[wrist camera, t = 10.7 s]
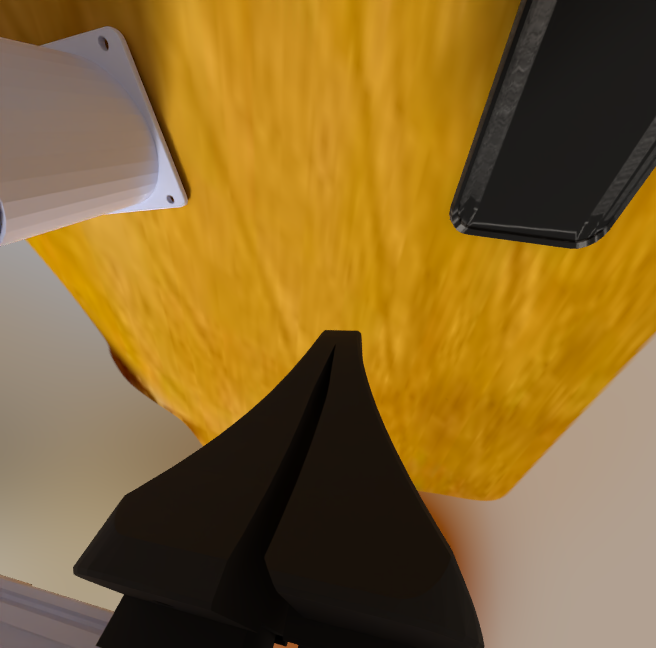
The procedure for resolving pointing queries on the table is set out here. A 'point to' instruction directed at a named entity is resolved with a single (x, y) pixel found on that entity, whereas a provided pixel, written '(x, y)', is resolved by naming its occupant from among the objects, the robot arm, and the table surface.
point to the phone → (564, 125)
